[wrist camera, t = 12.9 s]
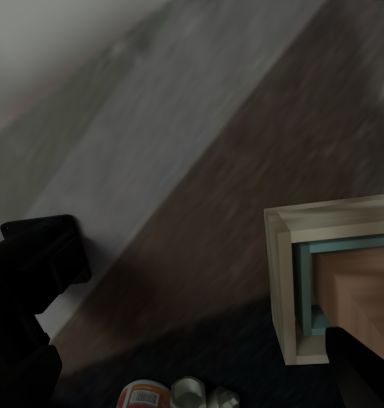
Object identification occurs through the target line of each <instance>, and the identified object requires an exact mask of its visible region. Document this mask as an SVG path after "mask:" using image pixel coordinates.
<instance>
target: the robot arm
mask: <svg viewBox="0 0 384 408" xmlns="http://www.w3.org/2000/svg"><path fill="white" fill-rule="evenodd" d="M65 219H67V220H68V222H66V221H65ZM7 227H8V229H9V230H8V229H7ZM0 229H1V232H2V234H3V237H4V240H3V241H1V242H0V408H47V407H48V405H49V402H50V399H51V397H52V394H53V391H54V389H55V386H56V383H57V381H58V378H59V375H60V373H61V369H62V361H61V359H60V356H59V354H58V351H57V349H56V347H55V346H54V345H48V344H49V341H50V338H49V336H48V334H47V333H45V332H44V331H43V329H42V327H41V326H40V324H39V322H38V321H37V319H36V317H35V315H36V314H42V313H43V312H44V311H45V310H46V309H47V308H48V306H49V305H50V304H51V303H52V302H53V301H54V300H55V298H56V297H57V296H58V295H59V294H62V293H63V292H64V291H65V290H66V289H67V288H68V287H69V285H70V284H78V283H86V282H88V281H89V280H90V279H91V273H90V270H89V266H88V261H87V258H86V255H85V251H84V248H83V245H82V242H81V239H80V238H79V236H78V232H77V229H76V226H75V223H74V220H73V218H72V217H71V216H70V215H68V214H65V215H57V216H49V217H42V218H34V219H27V220H19V221H12V222H6V223H4V224H2V225H1V227H0ZM84 276H86V277H87V278H85V277H84ZM325 349H326V354H327V357H328V360H329V363H330V365H331V368H332V371H333V374H334V376H335V379H336V382H337V384H338V387H339V390H340V393H341V395H342V398H343V401H344V403H345V406H346V408H384V359H383V358H381V357H380V356H379V355H377V354H376V353H375V352H373V351H372V350H371V349H369V348H368V347H367V346H365V345H364V344H363V343H362V342H360V341H359V340H358V339H356V338H355V337H354V336H352V335H351V334H350V333H348V332H347V331H346V330H344V329H343V328H342V327H339V326H336V327H327V328H326V330H325Z"/></svg>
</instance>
